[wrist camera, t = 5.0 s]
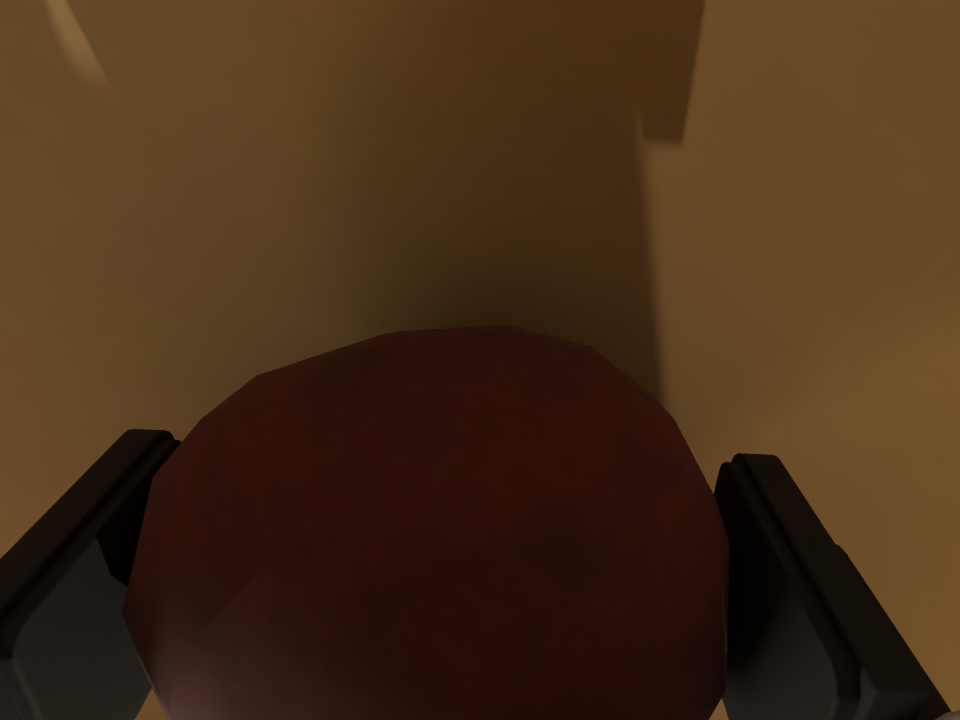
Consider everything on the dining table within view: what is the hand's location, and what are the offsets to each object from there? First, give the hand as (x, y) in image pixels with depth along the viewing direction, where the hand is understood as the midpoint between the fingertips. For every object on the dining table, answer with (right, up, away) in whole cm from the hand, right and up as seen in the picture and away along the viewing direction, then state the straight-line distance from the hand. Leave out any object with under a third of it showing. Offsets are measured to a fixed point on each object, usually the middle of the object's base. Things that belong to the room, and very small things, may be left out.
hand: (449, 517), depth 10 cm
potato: (0, +1, +2) cm, 2 cm away
